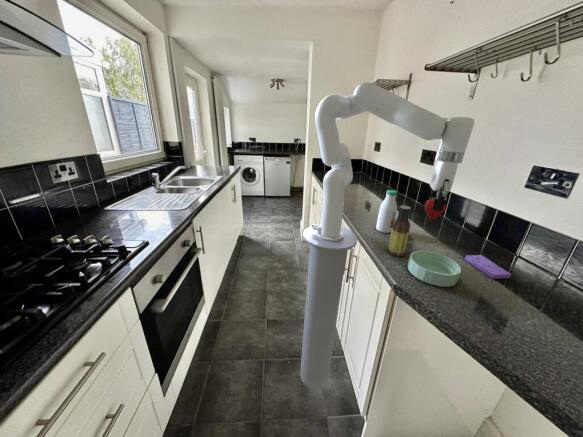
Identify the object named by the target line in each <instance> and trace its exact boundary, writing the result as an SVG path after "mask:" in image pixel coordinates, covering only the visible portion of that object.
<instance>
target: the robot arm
mask: <svg viewBox="0 0 583 437" xmlns="http://www.w3.org/2000/svg"><path fill="white" fill-rule="evenodd" d="M366 112H367V113H369V114H372V115H374V116H375V117H377V118H379V119H382V120H383V121H385V122H387V123H389V124H390V125H391V124H392V125H393V126H397V127H398V128H400V129H403V130H404V131H406V132H408V133H410V134H412V135H414V136H416V137H418V138H420V139H422V140H425V141H434V140H440V144H439V147H438V151H437V154H436V157H435V161H436V164H435V167H434V170H433V173H432V176H431V179H430V182H429V187H430V189H431V191H430V193H429V198H431V197H433V198H435V200H434V203H433V206H432V209H433V210H438V211H442V210H443V207H444V204H445V205H446V201H447V197H448V193H449V192H451V190H452V187H453V185H454V181H455V178H456V174H457V170H458V165H459V164H462V163H463V160H464V157H465V154H466V151H467V148H468V145H469V141H470V139H471V135H472V131H473V129H474V126H475V119H474V118H472V117H469V116H468V117H467V116H466V117H465V116H453V117H449V118H448V117H442V116H440V115H438V114H436V113H435V112H432V111H430V110H429V109H426V108H424V107H421V106H420V105H417V104H415V103H413V102H411V101H409V100H408V99H406V98H405V97H402V96H400V95H398V94H395V93H394V92H392V91H390V90H388V89H385V88H383V87H381V86H379V85H377V84H375V83H372V82H369V81H365V82H361V83H359V84H358V85H357V86H356V87H355V89H354V92H353V93H350V94H348V95H347V96H346V95H345V96H343V95H341V94H338V93H332V94H328V95H326V96H325V97H323V98H322V100H321V101H320V102H319V103H318V105H317V107H316V109H315V114H314V123H315V129H316V134H317V138H318V139H317V140H318V146H319V150H320V151H319V152H320V157H321V160H322V163H323V164H324V165H325V166H327V167H331V169H330V170H329V171H327V172H326V173H325V175H324V177H323V181H322V190H323V191H322V193H323V195H322V207H321V216H320V218H321V220H320V224H316V223H312V224H311V226H312V228H313V229H314V230H318V231H317V236H318V237H319V238H321V239H323V240H326V241H339V240H341V239H342V238H343V233H342V232H341V227H342V224H343V215H344V208H345V200H346V197H345V196H346V195H345V194H346V193H345V192H346V190H345V189H346V188H347V187H348V186H349V185H351V183H352V182H353V178H354V172H353V166H352V160H351V154H350V150H349V148H348V146H347V145H346V144H345V143H343V142H341V140H340V134H339V129H338V126H337V123H336V120H346V119H349V118H352V117H355V116H357V115H360V114H363V113H366ZM429 198H428V200H432V199H433V198H432V199H429Z"/></svg>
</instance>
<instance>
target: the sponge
mask: <svg viewBox="0 0 583 437" xmlns="http://www.w3.org/2000/svg"><path fill="white" fill-rule="evenodd" d="M464 260H465V261H466V262H468V263H469V264H471V265H472V266H474V268H477V269H478V270H479V271H481V272H482V273H484V274H485V275H486V276H488V277H489V278H491V279H510V278H511V276H512V273H510V272H509V271H507V270H505V269H504V268H502V267H500V266H499V265H497V264H496V263H495V262H493V261H492V260H490V259H488V258H487V257H486V256H484V255H482V254H476V255H469V254H468V255H465V257H464Z"/></svg>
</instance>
